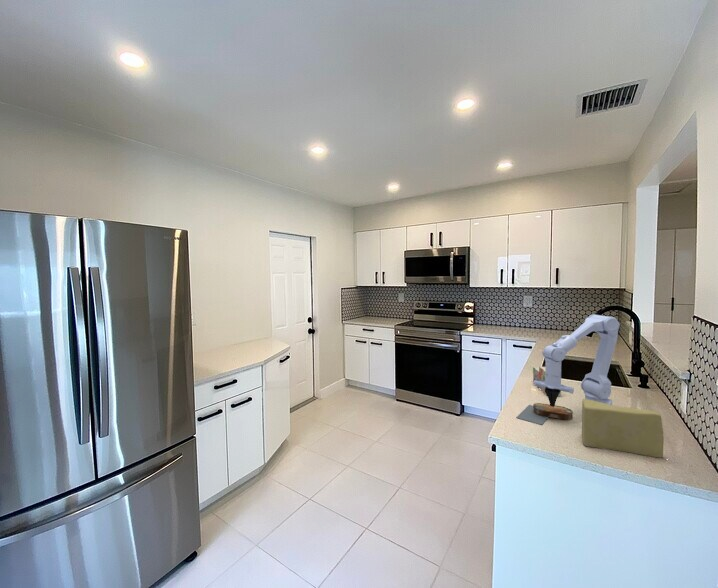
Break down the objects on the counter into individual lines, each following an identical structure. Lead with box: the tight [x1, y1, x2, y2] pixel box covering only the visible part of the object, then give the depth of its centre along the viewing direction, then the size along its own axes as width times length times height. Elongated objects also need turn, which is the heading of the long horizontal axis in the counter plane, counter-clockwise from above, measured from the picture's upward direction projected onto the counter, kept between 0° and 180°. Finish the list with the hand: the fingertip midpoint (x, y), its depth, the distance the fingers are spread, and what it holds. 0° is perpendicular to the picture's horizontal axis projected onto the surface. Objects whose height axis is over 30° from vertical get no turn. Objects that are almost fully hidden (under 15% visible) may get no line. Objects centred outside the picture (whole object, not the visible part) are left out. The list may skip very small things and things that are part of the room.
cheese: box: [581, 398, 665, 459], centre depth 112 cm, size 22×10×15 cm, turn 58°
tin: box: [532, 402, 574, 421], centre depth 139 cm, size 15×3×8 cm
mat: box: [516, 404, 549, 426], centre depth 140 cm, size 10×18×1 cm, turn 136°
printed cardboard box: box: [532, 366, 562, 398], centre depth 170 cm, size 21×6×12 cm, turn 169°
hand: (552, 405), depth 135 cm, fingers closed
